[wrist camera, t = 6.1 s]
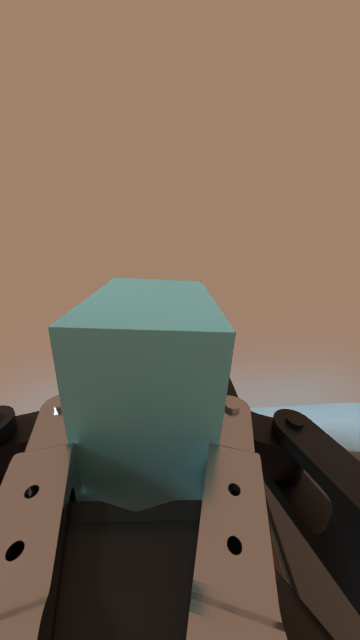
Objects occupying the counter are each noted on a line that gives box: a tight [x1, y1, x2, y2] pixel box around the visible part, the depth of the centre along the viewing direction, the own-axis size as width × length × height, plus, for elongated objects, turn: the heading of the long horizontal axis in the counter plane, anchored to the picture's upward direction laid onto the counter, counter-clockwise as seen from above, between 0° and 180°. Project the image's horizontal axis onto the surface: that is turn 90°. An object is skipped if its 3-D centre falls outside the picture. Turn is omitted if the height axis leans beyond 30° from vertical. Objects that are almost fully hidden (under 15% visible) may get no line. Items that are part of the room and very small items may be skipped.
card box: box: [48, 278, 236, 511], centre depth 10 cm, size 6×4×11 cm, turn 2°
